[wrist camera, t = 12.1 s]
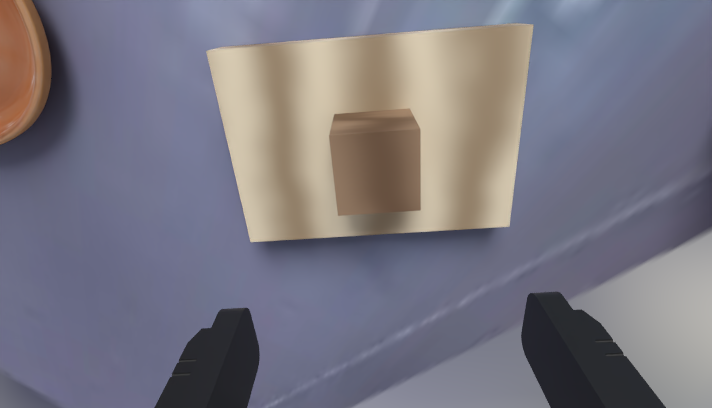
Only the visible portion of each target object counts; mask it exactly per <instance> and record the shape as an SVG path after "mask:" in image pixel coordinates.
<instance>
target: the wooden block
mask: <svg viewBox="0 0 712 408" xmlns="http://www.w3.org/2000/svg"><path fill="white" fill-rule="evenodd" d="M532 33H533V25H531V24H517V23H514V24H501V25H489V26H476V27H464V28H452V29H439V30H427V31H415V32H402V33H390V34H378V35H365V36H353V37H340V38H328V39H316V40H303V41H291V42H279V43H266V44H254V45H242V46H229V47H220V48H216V49H212V50H208V51H206V52H207V56H208V61H209V65H210V69H211V74H212V78H213V82H214V86H215V91H216V95H217V99H218V104H219V108H220V112H221V117H222V121H223V125H224V129H225V134H226V138H227V142H228V147H229V151H230V155H231V160H232V164H233V168H234V172H235V177H236V181H237V185H238V190H239V194H240V198H241V203H242V207H243V211H244V216H245V220H246V224H247V228H248V233H249V237H250V241H251V242H262V241H278V240H295V239H312V238H328V237H345V236H362V235H378V234H395V233H411V232H428V231H445V230H461V229H478V228H495V227H509V224H510V216H511V208H512V199H513V191H514V183H515V174H516V166H517V158H518V149H519V141H520V133H521V124H522V116H523V108H524V99H525V91H526V83H527V74H528V66H529V58H530V49H531V41H532ZM408 108H410V110H411V112H412V114H413V116H414V118H415V120H416V121H417V123H418V125H419V127H420V131H421V211H405V212H390V213H374V214H359V215H343V216H338V212H337V203H336V194H335V185H334V176H333V167H332V158H331V150H330V141H329V134H330V130H331V125H332V121H333V117H334V114H343V113H356V112H369V111H382V110H395V109H408Z"/></svg>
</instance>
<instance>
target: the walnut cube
mask: <svg viewBox="0 0 712 408" xmlns="http://www.w3.org/2000/svg"><path fill="white" fill-rule="evenodd" d="M329 141H330V150H331V158H332V167H333V176H334V185H335V194H336V203H337V212H338V216H343V215H359V214H374V213H390V212H405V211H421V131H420V127H419V125H418V123H417V121H416V120H415V118H414V116H413V114H412V112H411V110H410V108H408V109H395V110H382V111H369V112H356V113H343V114H334V117H333V121H332V125H331V130H330V134H329Z"/></svg>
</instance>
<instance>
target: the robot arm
mask: <svg viewBox="0 0 712 408" xmlns="http://www.w3.org/2000/svg"><path fill="white" fill-rule="evenodd" d="M521 338H522V345H523V350H524V353H525V355H526V358H527V360H528V362H529V364H530V366H531V368H532V370H533V372H534V374H535V376H536V378H537V380H538V382H539V384H540V386H541V388H542V390H543V393H544V395H545V397H546V399H547V401H548V403H549V405H550V407H551V408H666V407H665V406H664V405H663V403H662V402H661V401H660V399H659V398H658V397H657V396H656V394H655V393H654V392H653V390H652V389H651V388H650V387H649V385H648V384H647V383H646V381H645V380H644V379H643V378H642V377H641V375H640V374H639V372H638V371H637V370H636V369H635V367H634V366H633V365H632V363H631V362H630V361H629V360H628V358H627V357H626V356H624V355H623V352H622V350H621V349H620V348H619V347H618V345H617V344H616V343H614V342H613V339H612V338H611V336H610V335H609V334H608V333H607V331H606V330H605V329H604V327H603V326H602V325H601V323H599V322H598V321H596V320H595V319H594V318H592V317H591V316H590V315H588V314H587V313H586V312H584V311H583V310H573V309H572V308H571V307H570V305H569V304H568V302H567V301H566V299H565V298H564V297H563V295H562V294H561V293H559V292H544V293H530V294H529V295H528V297H527V302H526V309H525V315H524V321H523V327H522V335H521ZM258 365H259V345H258V341H257V337H256V333H255V329H254V325H253V321H252V317H251V314H250V311H249V309H248V308H233V309H221V310H220V311H219V312H218V314H217V316H216V319H215V321H214V323H213V325H212V327H211V328H205V329H201V330H200V331H199V332H198V333H197V334H196V335H195V336H194V337H193V338H192V339H191V340H190V341H189V342H188V343H187V345H186V347H185V349H184V351H183V353H182V355H181V357H180V359H179V363H177V365H176V367H175V369H174V371H173V373H172V377H170V379H169V380H168V382H167V384H166V386H165V388H164V390H163V392H162V394H161V396H160V398H159V400H158V402H157V404H156V406H155V408H247V406H248V402H249V399H250V395H251V391H252V388H253V384H254V381H255V377H256V373H257V370H258Z"/></svg>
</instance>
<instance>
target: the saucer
mask: <svg viewBox="0 0 712 408" xmlns="http://www.w3.org/2000/svg"><path fill="white" fill-rule="evenodd" d="M50 85H51V57H50V51H49V46H48V41H47V38H46V34H45V31H44V27H43V25H42V22H41V19H40V17H39V14H38V12H37V10H36V8H35V5H34V3H33V1H32V0H0V145H1V144H3V143H6V142H8V141H10V140H12V139H14V138H15V137H17V136H19V135H20V134H22V133H23V132H25V131H26V130H27V129H28V128H29V127H30V126H31V125H32V124H33V123H34V122H35V121H36V120H37V118H38V117H39V115H40V114H41V112H42V110H43V108H44V106H45V104H46V101H47V98H48V95H49V91H50Z"/></svg>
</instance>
